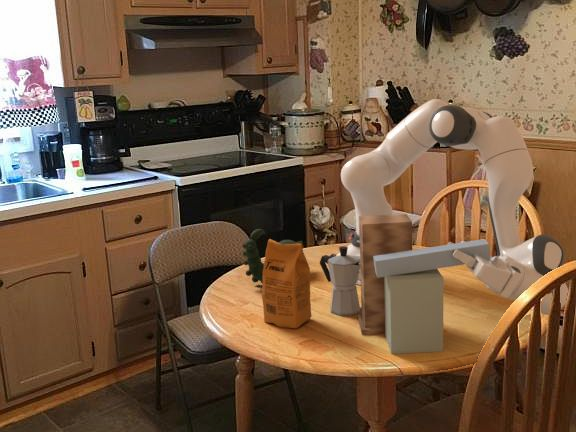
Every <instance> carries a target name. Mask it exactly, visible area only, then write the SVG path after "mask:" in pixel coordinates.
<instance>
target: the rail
mask: <svg viewBox="0 0 576 432" xmlns="http://www.w3.org/2000/svg"><path fill="white" fill-rule="evenodd" d="M460 242H461V241H460ZM460 242H455V243H454V244H449V245H447V244H444V245H437V246H430V247H425V248H423V247H422V248H418V249H417V248H416V249H412V250H410V251H403V252H397V253H390V254H384V255H377V256H373V259H374V266H375V272H376V275H377V278H379V277H386V276H392V275H399V274H405V273H412V272H418V271H425V270H431V269H438V270H439V269H445V268H449V267H457V266H463V265H465V264H464V263H463V262H461V261H460V260H458V259H456V258H455V257H453V255H452V252H453V250H454V249H458V250H460V251H462V252H463V253H465V254H467V255H469V256H472V257H474V256H473V255H474V254H477V255H479V256H481V257H483V258H485V259H487V260H488V261H490V256H491V253H490V244H489V242H488V241H487V240H485V238H482V239H476V240H469V241H465V242H461V243H460ZM474 258H475V257H474Z"/></svg>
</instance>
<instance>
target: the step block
mask: <svg viewBox="0 0 576 432" xmlns="http://www.w3.org/2000/svg"><path fill="white" fill-rule="evenodd" d="M384 291H385V333H384V336H385V340H386V342H387V345H388V349H389V351H390V354H391V355H394V354H395V355H396V354H399V355H400V354H413V353H414V354H416V353H440V352H444V276H443V275H442V274H441V273H440V271H439V268H438V269H431V270H425V271H418V272H412V273H405V274H399V275H392V276H386V277H384Z"/></svg>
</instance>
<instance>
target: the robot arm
mask: <svg viewBox="0 0 576 432" xmlns="http://www.w3.org/2000/svg"><path fill="white" fill-rule="evenodd" d="M437 143H439V144H441V145H442V146H445V147H451V148H452V149H453V148H454V149H457V150H468V151H469V150H471V151H475V152H477V151H478V152H479V154H480V156H481V159H482V163H483V166H484V169H485V173H486V178H487V179H486V180H487V186H488V191H487V192H488V194H487V205H488V206H487V207H488V212H489V216H490V222H491V227H492V232H493V237H494V243H495V248H496V256H491V255H490V261H488V260H487V259H485V258H483V257H481V256H479V255H477V254H474V255H473V256H474V257H475V258H474V257H472V256H469V255H467V254H465V253H463V252H462V251H460V250H458V249H454V250H453V252H452V255H453V257H455V258H456V259H458V260H460V261H461V262H463V263H464V265H465V266H466V267H467V268H468V269H469V270H470V272H471V273H472V274H473V275H474V276H475V278H477V279H478V280H479V281H480V282H482V283H484V284H485V287H486V288H487V289H488V290H490V291H492V292H494V293H496V294H498V295H500V296H501V297H502V298H504V299H511V300H514V301H515V300H516V299H517V298H518V297H519V296H520V295H521V294H522V293H523V292H524V291H525V290H527V289H528V288H529V287H530V286H531V285H532V284H533V283H535V282H536V281H537V280H538V279H539V278H541V277H542V276H544V275H545V274H547V273H548V272H550V271H552V270H554V269H556V268H558V267H560V266H562V265H563V266H564V264H565V261H566V254H565V249H564V248H563V246H562V244H561V243H560V241H558V240H557V239H556V238H554V237H553V236H552V235H549V234H543V233H542V234H539V235H536V236H534V237H532V238H531V237H530V239H528V240H525V241H523V242H521V238H520V233H519V227H518V223H517V218H516V212H517V206H518V204H519V201H520V200H521V198H522V196H523V194H524V193H525V192H526V191H527V189H528V188H529V186H530V184H531V183H532V180H533V177H534V165H533V161H532V158H531V155H530V152H529V149H528V147H527V144H526V142H525V139H524V138H523V135H522V133H521V132H520V130H519V128H518V126H517V125H516V123H515V122H514V120H513V119H512V118H511V117H509V116H505V115H502V116H501V115H498V116H493V115H491V114H489V113H488V112H487V111H486V112H485V111H481V110H479V109H477V108H473V107H469V106H468V107H467V106H466V107H465V106H459V105H457V104H448V102H446V101H444V100H442V99H438V98H434V99H433V98H432V99H431V100H428V101H426V102H425V103H423V104H422V105H420V106H418V107H417V108H416V109H414V110H413V111H411V112H410V113H409V114H408V115H406V117H404V118H403V119H402V120H401V121H400V122H399V123H398V124H396V125H395V127H393V128H392V129H391V130H390V131H389V132H387V134H386V135H385V138H384V140H383V141H382V143H381V144H380V145H379V146H377V148H375V149H374V150H371V151H370V152H367V153H365V154H360V155H357V156H354V157H353V158H351V159H350V160H348V161H347V162H346V163H345V164H344V165H343V166H342V168H341V170H340V171H341V172H340V180H341V183H342V185H343V186H344V188H345V189H346V190H347V191H348V192H349V193H350V195H351V198H352V201H353V206H354V209H355V225H356V226H355V228H356V229H355V231H354V232H353V233H351V235H349V237H348V238H349V241H350V240H351V243H350V244H349V245H348V246H346V247H348V249H347V255H352V256H356V257H357V258H359V259H360V236H359V216H376V215H393V207H392V206H391V204H390V203H388V201H387V198H386V195H385V191H384V188H385V186H388V185H391V184H393V183H395V181H396V180H398V178H400V177H401V176H402V174H403V173H405V171H407V169H408V168H409V167H410V165H412V164H413V163H414V162H415V161H416V160H418V158H420V157H421V156H422V155H423V154H425V153H426V152H427V151H428V150H429V149H431V148H432V147H433V146H435V144H437ZM461 242H466V241H465V240H461V241H460V242H459V243H461ZM449 244H455V243H454V242H452V241H449V242H448V243H447V244H446V245H449ZM339 255H340V251H339V252H338V253H337V254H336V256H339ZM356 285H359V286H361V272H360V270H359V274H358V282H357V283H356ZM568 290H569V288H568V286H567V284H566V282H565V283H564V284H562V285H561V287H560V303H561V310H562V309H563V308H564V307H565V306H566V304H567V303H566V298H567V293H568ZM551 298H552V293H550V294H548V295H546V296H545V297H544V298H543V299H542V301H541V313H540V315H541V314H542V315H546V316H547V315H548V316H550V315H549V312H550V305H551ZM530 310H531V311H533V310H532V309H530Z"/></svg>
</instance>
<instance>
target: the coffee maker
mask: <svg viewBox="0 0 576 432" xmlns="http://www.w3.org/2000/svg"><path fill="white" fill-rule="evenodd" d="M338 249H339V250H338V251H339V252H340V255H339V256H337V254H336V253H331V254H330V255H328V254H324V255H322V256H321V257H320V259H319V260H320V261H319V265H320V267H321V270H322V272H323V274H324V276H325V278H326V280H327V282H328V283H330V282H331V284H332V285H333V286H332V293H331V301H330V313H331V314H334V315H336V316H339V317H347V316H351V317H352V316H354V315H357V313H362V309H361V307H360V301H359V300H360V299H359V294H358V290H357V284H356V283H357V282H358V274H359V270H360V259H359V258H357V257H356V256H352V255H347V249H348V247H347V246H345V245H343V246H339V247H338Z"/></svg>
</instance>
